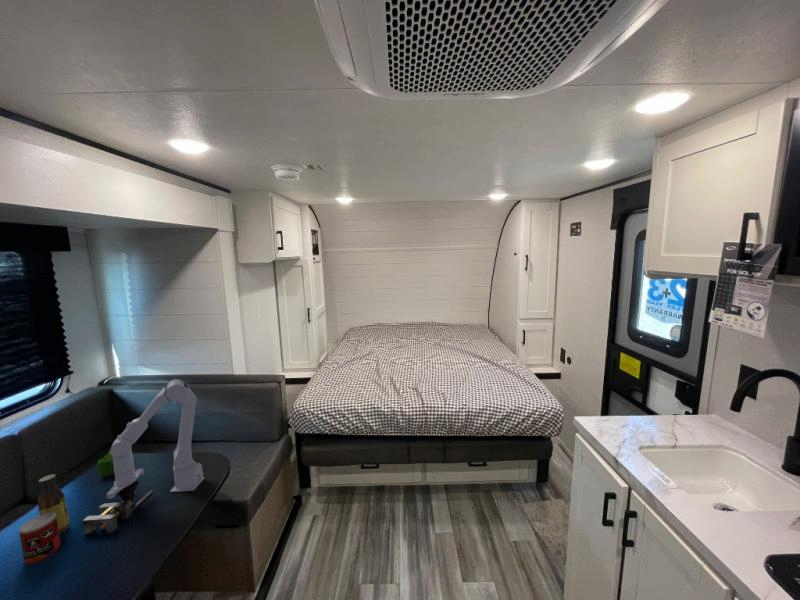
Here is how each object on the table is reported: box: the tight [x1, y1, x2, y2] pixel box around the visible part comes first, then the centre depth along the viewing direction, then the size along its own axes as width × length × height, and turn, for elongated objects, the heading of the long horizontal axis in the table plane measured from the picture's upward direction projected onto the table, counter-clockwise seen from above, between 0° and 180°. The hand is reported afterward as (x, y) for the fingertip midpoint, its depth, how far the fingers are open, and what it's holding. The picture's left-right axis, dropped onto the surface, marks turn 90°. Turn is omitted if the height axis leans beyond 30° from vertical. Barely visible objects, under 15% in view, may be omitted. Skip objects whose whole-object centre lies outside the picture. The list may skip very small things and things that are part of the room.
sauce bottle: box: [37, 473, 70, 535], centre depth 109 cm, size 7×6×20 cm
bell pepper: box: [97, 451, 115, 478], centre depth 143 cm, size 8×8×10 cm
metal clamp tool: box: [82, 489, 154, 535], centre depth 118 cm, size 9×20×5 cm, turn 2°
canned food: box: [19, 512, 61, 565], centre depth 101 cm, size 8×8×11 cm
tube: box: [98, 500, 133, 530], centre depth 115 cm, size 10×3×3 cm, turn 2°
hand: (128, 503), depth 121 cm, fingers closed
